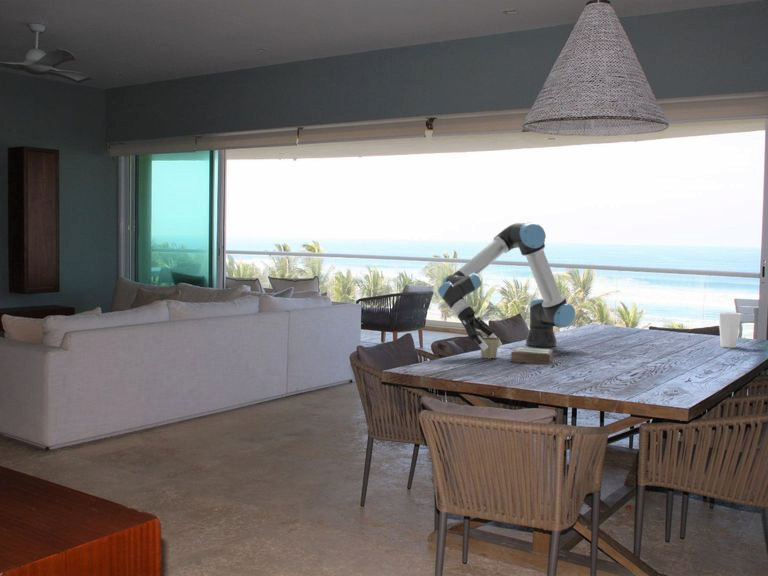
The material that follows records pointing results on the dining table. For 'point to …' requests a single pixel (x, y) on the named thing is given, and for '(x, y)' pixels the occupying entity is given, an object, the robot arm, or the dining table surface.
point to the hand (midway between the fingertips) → (493, 347)
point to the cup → (729, 328)
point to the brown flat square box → (532, 355)
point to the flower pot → (490, 347)
